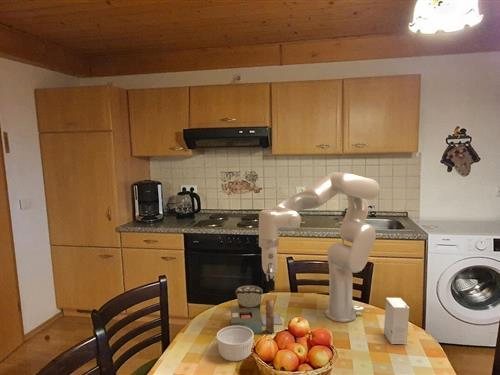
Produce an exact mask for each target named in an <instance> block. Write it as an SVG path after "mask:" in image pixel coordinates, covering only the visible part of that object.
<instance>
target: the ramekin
mask: <svg viewBox="0 0 500 375" xmlns="http://www.w3.org/2000/svg"><path fill="white" fill-rule="evenodd" d="M254 335H255V334H254V333H253V331H252V330H251V329H249V328H247V327H244V326H231V325H230V326H229V325H228V326H226V327H223V328H221V329H219V330H218V332H217V333H216V342H217V349H218V352H219V355H220V356H221V357H222V358H223V359H224V360H226V361H229V362H238V361H239V362H240V361H243V360H246V359H247V358H248V357H250V355H251V354H252V352H251V348H252V349H253V347H252V346H253V343H254V340H255V339H254V338H255V336H254Z"/></svg>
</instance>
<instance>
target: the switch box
mask: <svg viewBox="0 0 500 375" xmlns="http://www.w3.org/2000/svg"><path fill="white" fill-rule="evenodd" d="M241 315H250V317H251V318H241ZM261 316H262V314H261V309H260V310H259V308H243V309H239V308H231V309H230V326H244V327H247V328H249V329H251V330H252V331H253V333H254V335H259V334H260V335H261V334H263V323H262V318H261Z"/></svg>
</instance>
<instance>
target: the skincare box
mask: <svg viewBox="0 0 500 375" xmlns="http://www.w3.org/2000/svg"><path fill="white" fill-rule="evenodd" d="M385 299H386V300H385V312H384V325H383V326H384V327H383V335H386V336H385V338H386V339H387V340H388V341H389V343H390V345H391V344H405V343H407V344H408V331H409V320H410V319H409V318H410V306H408V305H407V303H406V302H405V301H404V300H403V299H402V298H401V297H386V298H385Z"/></svg>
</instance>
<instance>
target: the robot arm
mask: <svg viewBox="0 0 500 375" xmlns="http://www.w3.org/2000/svg"><path fill="white" fill-rule="evenodd" d="M380 188H381V187H380V185H379V183H378V181H377V180H375V179H373V178H370V177H369V178H368V177H365V176H361V175H357V174H354V173H349V172H339V171H333V172H331V173H329V174H327V175H325V176H324V177H323V178H321V179H320V180H318V181H317V182H316V183H314V184H313V185H312V186H310V187H309V188H307V189H305V190H303V191H300V192H298V193H295V194H293V195H290V196H289V197H286V198H285V199H284V200H282V201H281V202H279V203H278V204H277V205H275V206H274V207H273V208H272V209H263V210H260V211H259V214H258V247H259V248H261V267H262V281H263V283H264V282H265V290H266V292H274V291H275V289H276V288H275V287H276V285H275V284H276V283H275V282H276V281H275V275H277V274H278V253H277V248H279V244H280V243H279V240H280V239H279V238H280V237H279V236H280V231H279V230H280V229H281V230H294V229H296V228H297V227H299V225H300V223H301V215H300V214H299V212H301V211H305V210H312V209H317V208H321V206H323V205H325V204H326V203H327V202H329V200H331V199H333V198H334V197H335V196H337V195H338V194H341V195H344V196H345V197H346V198H347V202H348V204H347V210H346V212H345V215H344V217H343V220H342V223H341V225H340V228H339V232H338V233H339V236H340V238H341V239H342V240H344V241H346V242H347V243H348V242H349V243H350V244H351V245H350V244H346V243H344V242H334V243H332V244H331V245H330V246H329V247H328V249H327V252H326V253H327V257H326V258H327V262H328V269H329V280H328V281H329V288H328V290H329V291H328V292H329V295H328V296H329V297H328V298H329V299H328V300H329V302H328V304H329V305H328V308H327V309H326V310H325V316H326V318H328V320H331V321H334V322H338V323H349V322H353V321H355V319H357V318H356V317H357V315H356V313H357V312H358V313H363V312H364V307H363V306H360V307H359V305H353V282H354V281H353V278H354V277H353V273H354V274H355V273H360V272H362V270H363V269H365V267H366V265H367V263H368V260H369V258H370V256H371V252H372V250H373V249H374V248H373V247H374V244H375V242H376V238H377V236H376V230H375V228H374V227H373V225H371V224H369V223H366V222H367V221H366V220H367V218H368V215H369V211H370V210H369V203H368V200H369V201H371V200H374V199H376V198H377V197H378V195H379V194H380V190H381V189H380Z"/></svg>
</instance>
